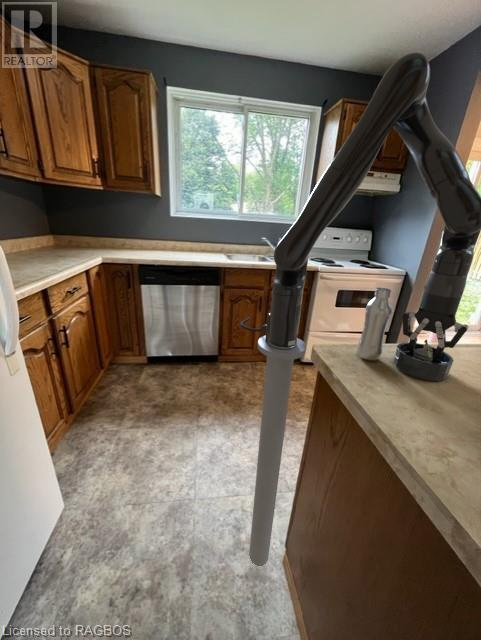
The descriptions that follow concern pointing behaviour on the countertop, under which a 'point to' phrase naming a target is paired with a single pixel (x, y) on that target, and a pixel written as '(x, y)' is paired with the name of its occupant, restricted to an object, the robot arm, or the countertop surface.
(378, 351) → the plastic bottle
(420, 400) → the countertop surface
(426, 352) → the figurine
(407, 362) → the pan
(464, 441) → the countertop surface
